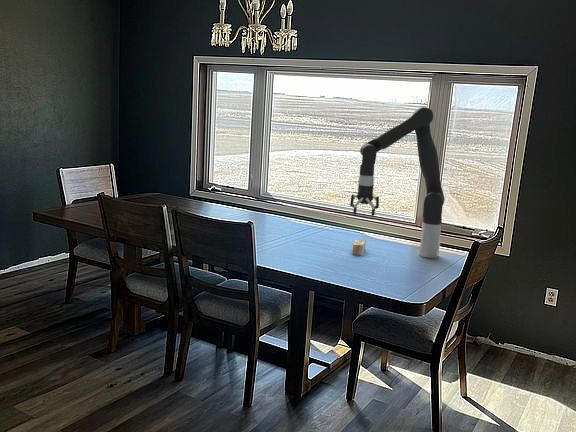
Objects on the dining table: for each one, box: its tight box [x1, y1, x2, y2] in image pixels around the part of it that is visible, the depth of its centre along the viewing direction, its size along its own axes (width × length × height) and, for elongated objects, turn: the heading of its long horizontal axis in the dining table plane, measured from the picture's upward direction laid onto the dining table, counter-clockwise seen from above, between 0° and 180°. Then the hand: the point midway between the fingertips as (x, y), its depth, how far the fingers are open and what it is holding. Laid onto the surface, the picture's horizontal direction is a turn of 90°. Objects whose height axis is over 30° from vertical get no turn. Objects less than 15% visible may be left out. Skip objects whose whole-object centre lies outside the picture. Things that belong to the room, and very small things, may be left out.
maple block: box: [351, 238, 366, 256], centre depth 300 cm, size 5×5×12 cm
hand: (363, 215), depth 298 cm, fingers open, 8 cm apart
